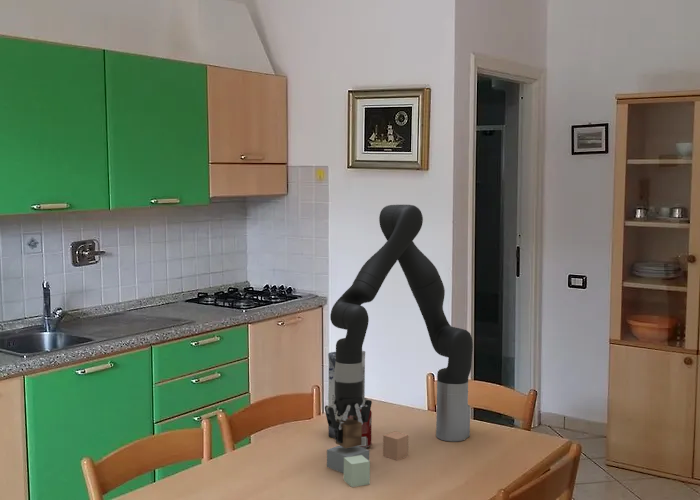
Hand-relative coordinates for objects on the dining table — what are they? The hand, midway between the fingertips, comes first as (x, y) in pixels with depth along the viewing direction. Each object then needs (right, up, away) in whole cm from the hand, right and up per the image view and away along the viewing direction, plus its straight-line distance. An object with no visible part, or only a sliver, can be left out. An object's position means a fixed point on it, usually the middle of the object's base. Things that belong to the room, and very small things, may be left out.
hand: (348, 440), depth 210 cm
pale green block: (+2, -8, -10) cm, 13 cm away
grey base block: (0, -8, +1) cm, 8 cm away
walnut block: (0, -1, 0) cm, 1 cm away
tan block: (+13, -7, +9) cm, 18 cm away
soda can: (+3, -6, +17) cm, 19 cm away
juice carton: (-1, -5, +27) cm, 27 cm away
